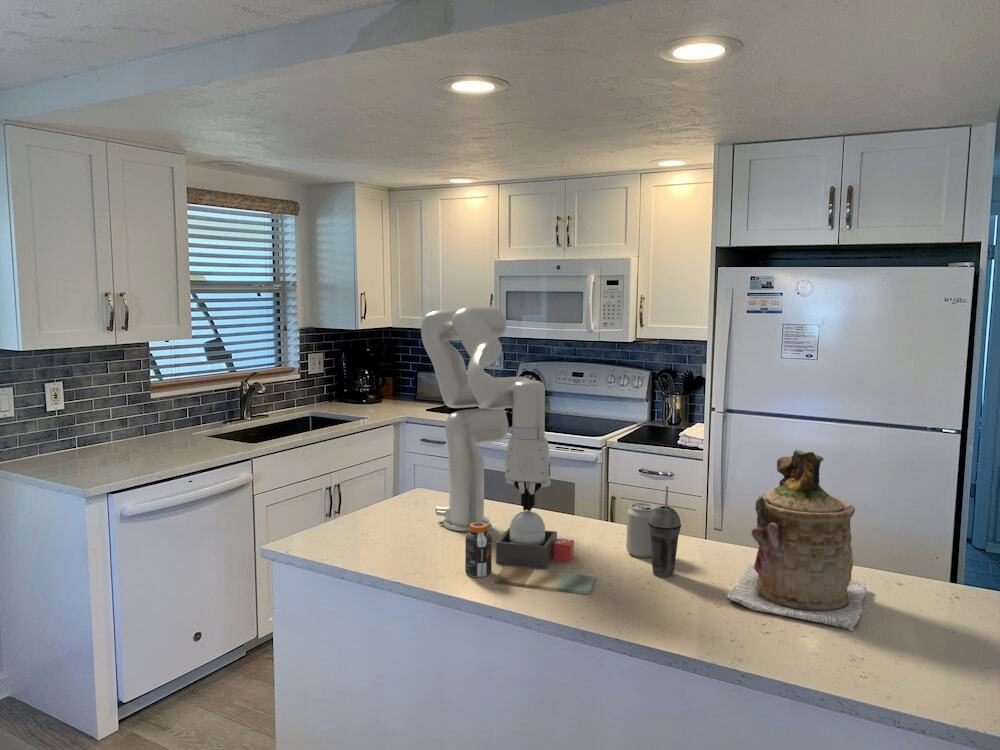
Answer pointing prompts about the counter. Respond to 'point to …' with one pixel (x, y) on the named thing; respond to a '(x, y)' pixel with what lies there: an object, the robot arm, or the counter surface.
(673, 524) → the beverage cup
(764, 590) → the cookie jar
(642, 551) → the can
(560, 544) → the box
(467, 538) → the pill bottle
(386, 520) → the counter surface
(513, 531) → the dome
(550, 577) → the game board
